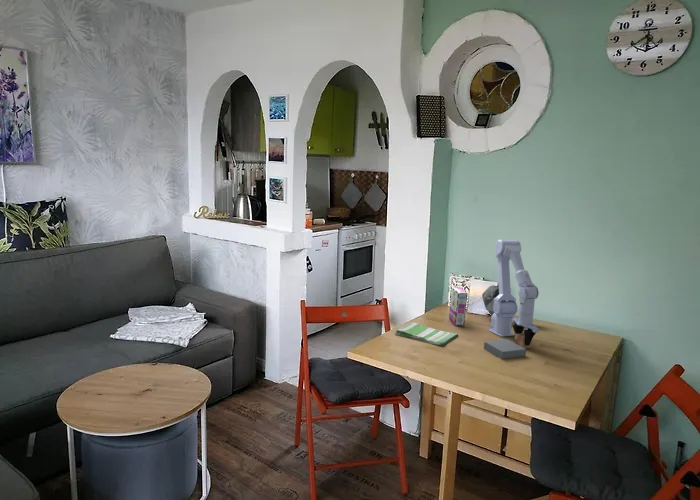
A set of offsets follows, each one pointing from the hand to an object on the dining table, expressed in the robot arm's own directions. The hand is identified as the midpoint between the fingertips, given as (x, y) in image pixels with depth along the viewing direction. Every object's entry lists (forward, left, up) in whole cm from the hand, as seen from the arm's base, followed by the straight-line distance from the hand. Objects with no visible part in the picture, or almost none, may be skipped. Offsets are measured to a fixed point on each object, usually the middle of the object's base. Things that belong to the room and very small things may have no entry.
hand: (522, 342), depth 222 cm
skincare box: (-24, +22, -2) cm, 33 cm away
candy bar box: (-36, -10, -2) cm, 37 cm away
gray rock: (-36, +12, -2) cm, 38 cm away
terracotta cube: (0, 0, -1) cm, 1 cm away
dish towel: (-23, -35, -2) cm, 42 cm away
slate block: (+4, -13, -1) cm, 14 cm away
